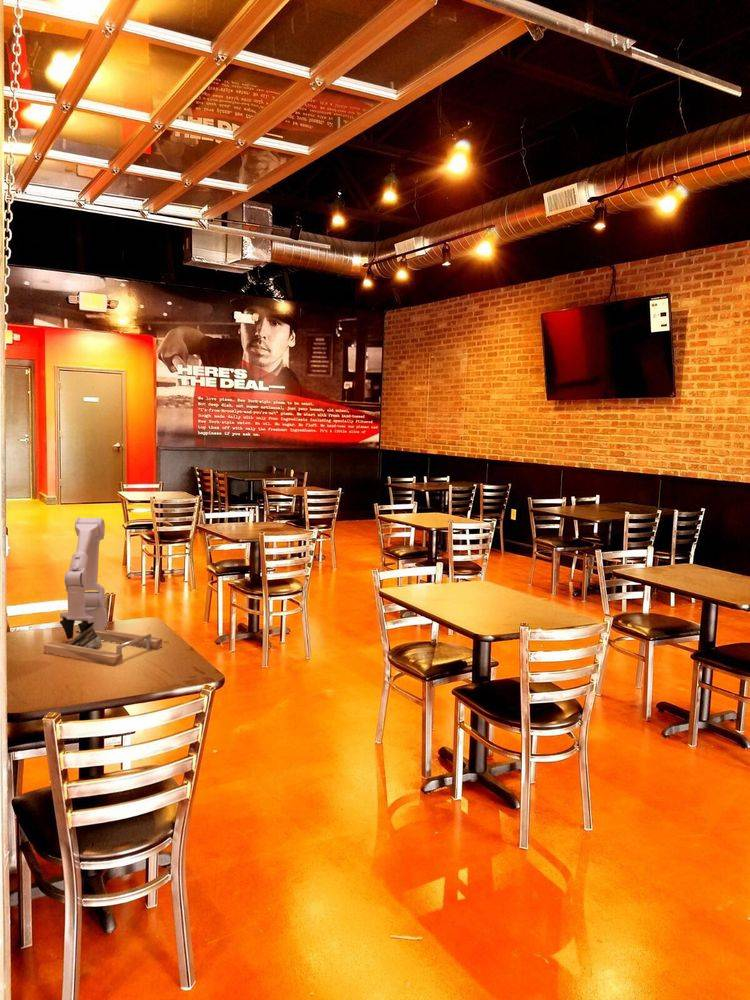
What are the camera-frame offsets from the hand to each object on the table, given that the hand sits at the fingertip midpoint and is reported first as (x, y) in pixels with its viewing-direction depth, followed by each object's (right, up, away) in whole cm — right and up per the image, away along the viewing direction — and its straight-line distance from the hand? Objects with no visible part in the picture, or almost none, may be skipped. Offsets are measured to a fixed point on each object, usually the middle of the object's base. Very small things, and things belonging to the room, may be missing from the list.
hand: (77, 639), depth 271 cm
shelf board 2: (+16, -2, +3) cm, 16 cm away
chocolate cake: (+5, -3, -5) cm, 8 cm away
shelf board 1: (+8, -3, -15) cm, 18 cm away
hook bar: (+25, -3, -12) cm, 28 cm away
